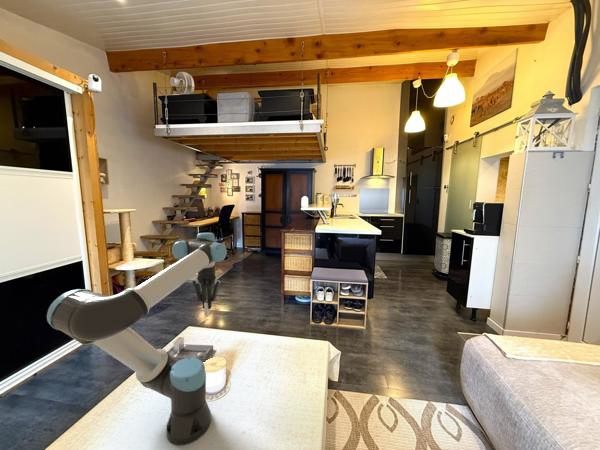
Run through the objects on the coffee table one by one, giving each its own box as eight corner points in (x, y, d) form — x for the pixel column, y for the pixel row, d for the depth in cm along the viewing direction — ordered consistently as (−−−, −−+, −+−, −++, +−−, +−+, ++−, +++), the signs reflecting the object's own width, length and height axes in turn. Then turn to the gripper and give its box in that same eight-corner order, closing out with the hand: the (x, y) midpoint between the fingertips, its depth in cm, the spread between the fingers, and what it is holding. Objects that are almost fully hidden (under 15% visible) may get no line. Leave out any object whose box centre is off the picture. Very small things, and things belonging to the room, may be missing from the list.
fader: (179, 353, 130) (178, 342, 129) (173, 352, 130) (173, 342, 129) (184, 347, 135) (183, 337, 134) (178, 347, 135) (178, 336, 134)
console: (204, 363, 126) (203, 355, 125) (162, 361, 127) (162, 354, 126) (213, 349, 138) (213, 342, 137) (175, 348, 139) (175, 341, 138)
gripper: (223, 264, 116) (223, 312, 118) (196, 263, 116) (197, 311, 118) (217, 268, 108) (217, 319, 110) (188, 267, 109) (189, 318, 111)
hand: (207, 314), depth 114 cm, fingers closed
